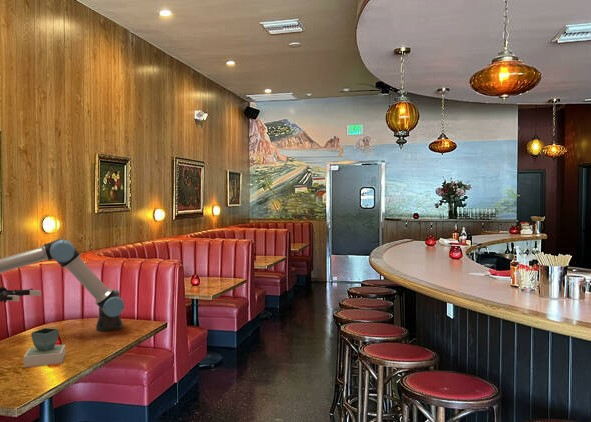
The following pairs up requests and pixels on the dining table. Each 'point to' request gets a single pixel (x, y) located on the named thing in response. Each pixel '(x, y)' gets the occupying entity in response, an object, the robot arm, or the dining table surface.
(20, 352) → the dining table surface
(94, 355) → the dining table surface
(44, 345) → the flower pot
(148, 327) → the dining table surface
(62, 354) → the grey box
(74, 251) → the robot arm
